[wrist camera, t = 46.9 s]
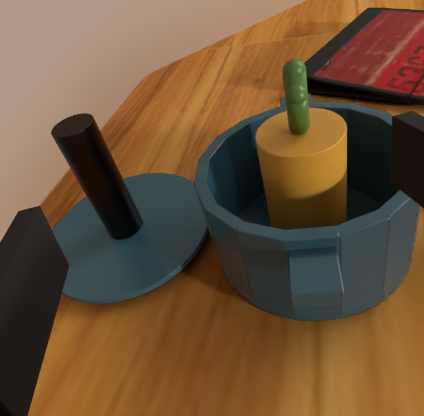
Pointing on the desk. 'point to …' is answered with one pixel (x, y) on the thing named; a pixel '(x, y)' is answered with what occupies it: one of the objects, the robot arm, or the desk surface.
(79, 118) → the pot lid
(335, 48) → the binder
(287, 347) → the desk surface
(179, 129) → the desk surface
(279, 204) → the yellow cylinder green stem
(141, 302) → the desk surface
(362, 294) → the pot
